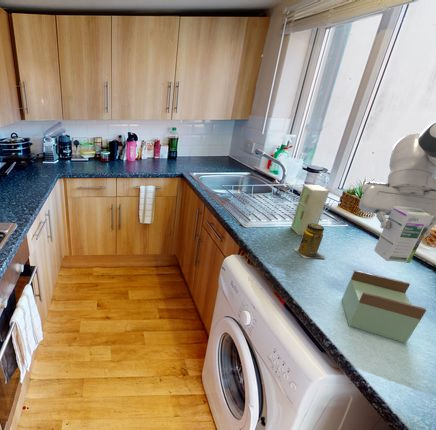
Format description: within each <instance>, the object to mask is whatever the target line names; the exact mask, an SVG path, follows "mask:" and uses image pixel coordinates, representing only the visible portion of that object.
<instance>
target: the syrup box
mask: <svg viewBox="0 0 436 430" xmlns="http://www.w3.org/2000/svg"><path fill="white" fill-rule="evenodd" d="M433 217H434V215H432V214H431V213H429V212H427V211H425V210H423V209H420V208H412V207H399V206H393V208H392V211H391V213H390V215H389V216H388V218H387V219H386V220H387V221H390V222H391V224H390V228H388V229H384V228H382V231H381V233H380V236H379V238H378V239H377V242H376V245H375V246H374V249H373V251H374V252H375V254H377V255H378V256H380V257H381V258H382V259H383V260H385V261H386V262H395V263H404V264H406V263H407V264H410V263H411V262H412V260H413V258H414V256H415V254H416V252H417V249H418V248H419V246H420V244H421V242H422V240H423V238H424V237H425V236H424V234H425V233H426V231H427V229H428V227H429V225H430V223H431V221H432V219H433Z"/></svg>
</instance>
